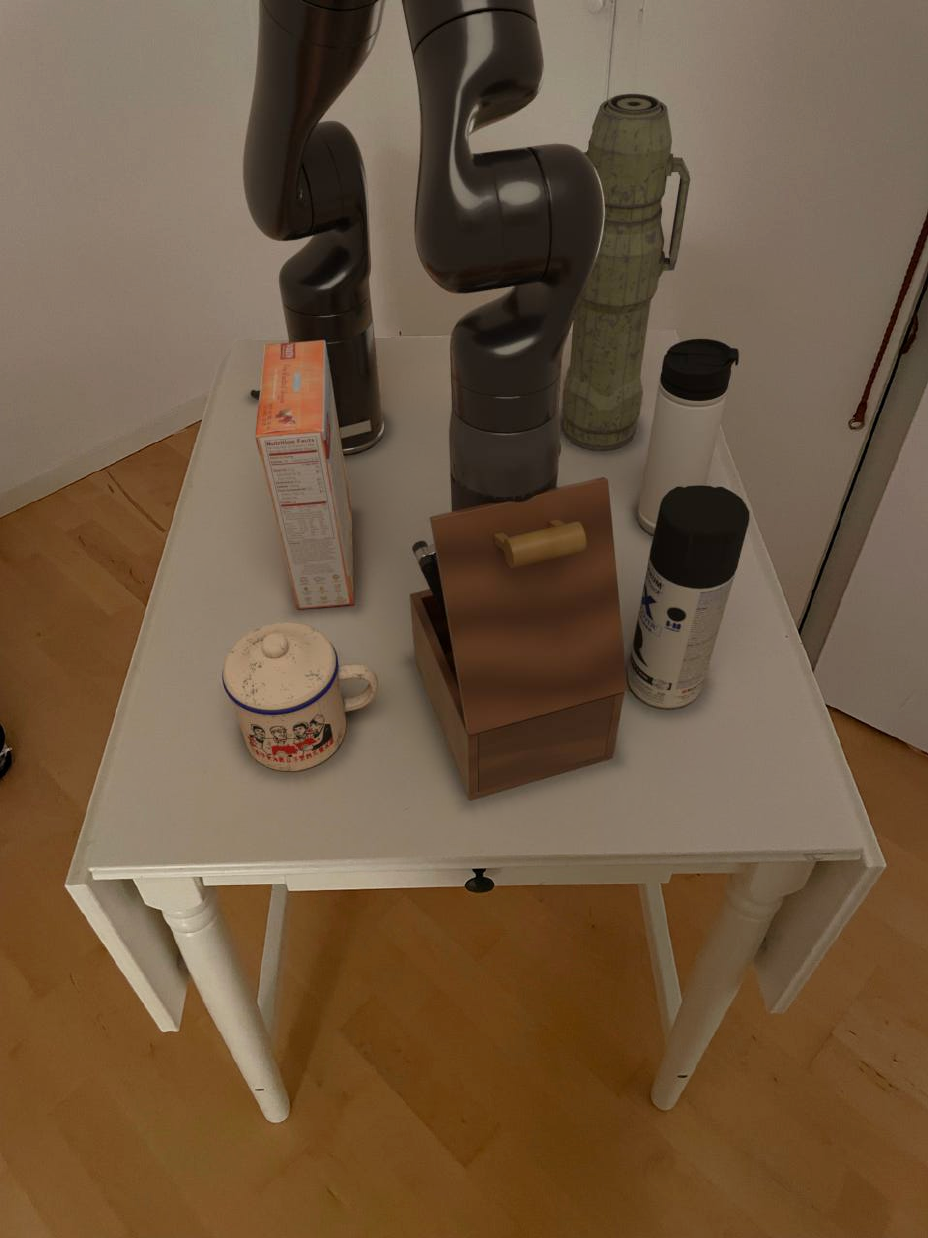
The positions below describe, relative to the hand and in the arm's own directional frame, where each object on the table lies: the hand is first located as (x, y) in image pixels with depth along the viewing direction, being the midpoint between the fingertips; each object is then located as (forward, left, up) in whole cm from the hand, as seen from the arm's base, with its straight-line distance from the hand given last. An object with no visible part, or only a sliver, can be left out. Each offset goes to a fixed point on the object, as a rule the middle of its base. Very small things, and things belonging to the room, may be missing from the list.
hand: (501, 624), depth 76 cm
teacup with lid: (-10, -14, -8) cm, 19 cm away
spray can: (+11, +10, -8) cm, 17 cm away
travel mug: (0, +29, -8) cm, 30 cm away
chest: (+2, -1, -8) cm, 9 cm away
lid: (+5, -3, +8) cm, 11 cm away
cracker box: (-24, +2, -8) cm, 25 cm away
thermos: (-15, +38, -8) cm, 41 cm away
